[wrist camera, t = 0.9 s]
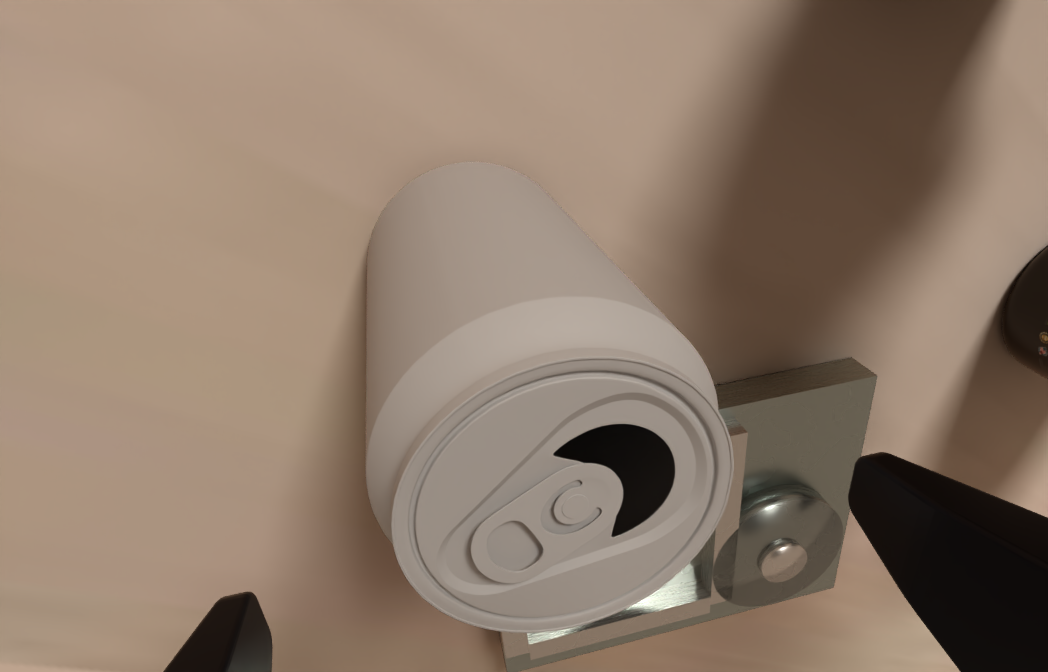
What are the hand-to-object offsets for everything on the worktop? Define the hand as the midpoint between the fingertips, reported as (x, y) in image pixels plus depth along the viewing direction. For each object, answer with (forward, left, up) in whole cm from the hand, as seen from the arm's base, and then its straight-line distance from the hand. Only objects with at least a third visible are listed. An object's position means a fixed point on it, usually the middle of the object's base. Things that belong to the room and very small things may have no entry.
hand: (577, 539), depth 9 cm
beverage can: (0, 0, -13) cm, 13 cm away
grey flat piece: (-7, +13, -13) cm, 20 cm away
